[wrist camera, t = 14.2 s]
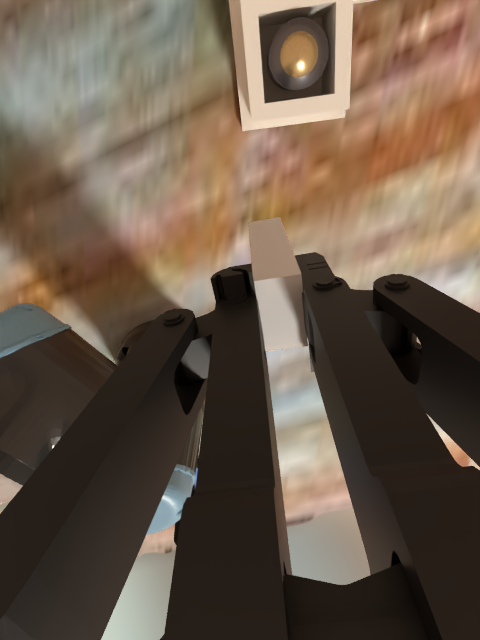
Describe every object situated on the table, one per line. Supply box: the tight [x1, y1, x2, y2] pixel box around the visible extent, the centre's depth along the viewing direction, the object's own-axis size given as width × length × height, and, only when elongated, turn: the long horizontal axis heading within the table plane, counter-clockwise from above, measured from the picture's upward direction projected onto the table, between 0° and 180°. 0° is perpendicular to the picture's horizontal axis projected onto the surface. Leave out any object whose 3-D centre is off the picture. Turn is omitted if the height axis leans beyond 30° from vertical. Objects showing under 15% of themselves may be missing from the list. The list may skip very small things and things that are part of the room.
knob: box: [267, 17, 329, 91], centre depth 29 cm, size 4×4×6 cm
